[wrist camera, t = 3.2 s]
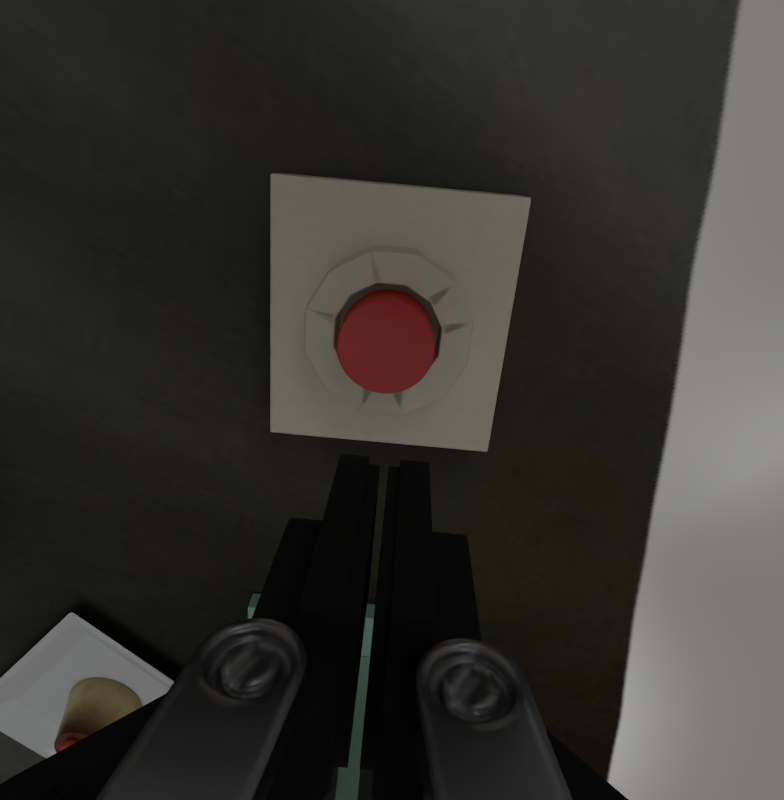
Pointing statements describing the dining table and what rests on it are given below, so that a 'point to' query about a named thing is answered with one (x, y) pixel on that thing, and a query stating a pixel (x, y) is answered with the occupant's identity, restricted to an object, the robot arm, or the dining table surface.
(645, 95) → the dining table surface
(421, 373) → the power button
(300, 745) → the robot arm
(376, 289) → the block
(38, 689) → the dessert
